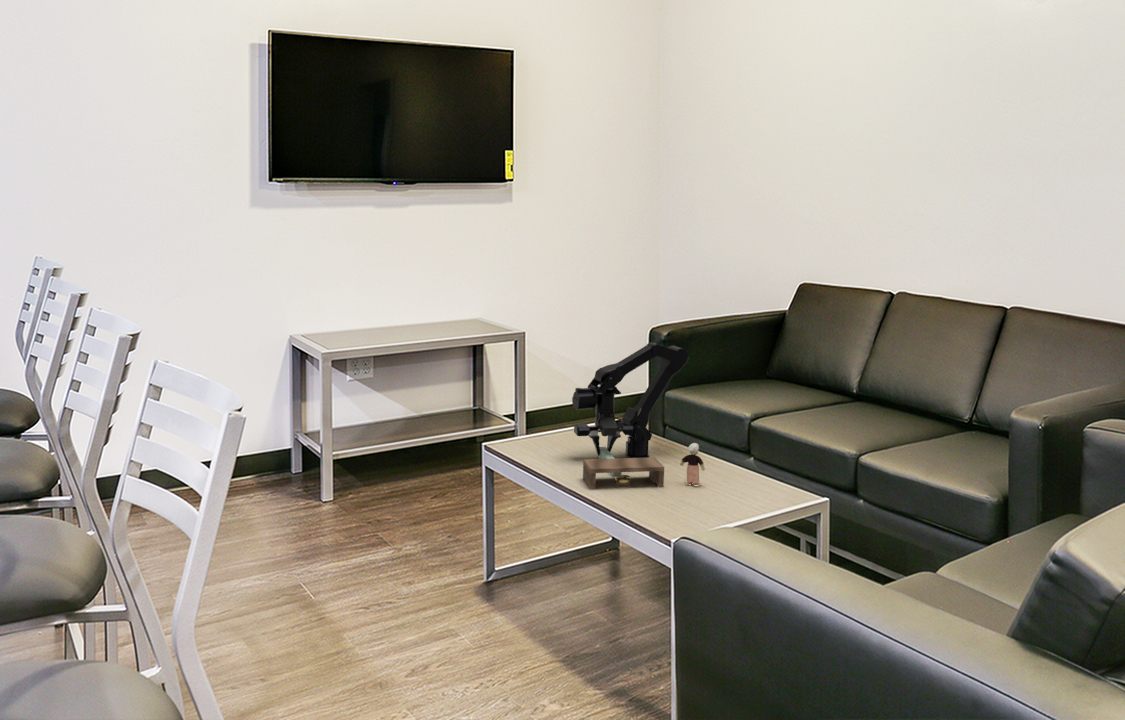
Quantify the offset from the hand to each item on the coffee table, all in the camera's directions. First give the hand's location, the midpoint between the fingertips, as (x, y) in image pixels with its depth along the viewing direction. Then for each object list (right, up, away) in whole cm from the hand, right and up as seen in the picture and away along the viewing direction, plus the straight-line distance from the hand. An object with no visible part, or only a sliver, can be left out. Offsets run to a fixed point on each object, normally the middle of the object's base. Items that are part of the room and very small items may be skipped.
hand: (603, 455), depth 304 cm
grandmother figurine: (+25, -7, -24) cm, 35 cm away
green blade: (+1, -3, -7) cm, 8 cm away
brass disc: (+5, -6, -24) cm, 25 cm away
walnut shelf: (+5, -6, -24) cm, 25 cm away
